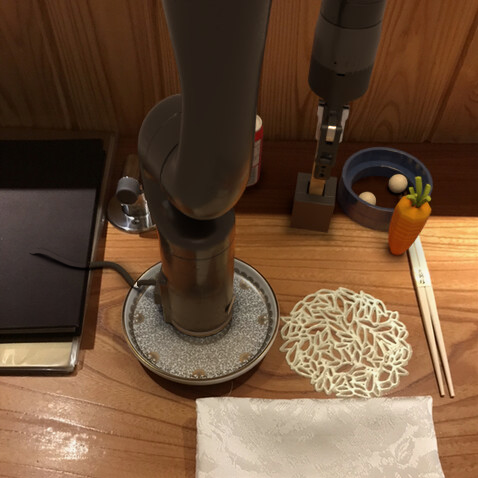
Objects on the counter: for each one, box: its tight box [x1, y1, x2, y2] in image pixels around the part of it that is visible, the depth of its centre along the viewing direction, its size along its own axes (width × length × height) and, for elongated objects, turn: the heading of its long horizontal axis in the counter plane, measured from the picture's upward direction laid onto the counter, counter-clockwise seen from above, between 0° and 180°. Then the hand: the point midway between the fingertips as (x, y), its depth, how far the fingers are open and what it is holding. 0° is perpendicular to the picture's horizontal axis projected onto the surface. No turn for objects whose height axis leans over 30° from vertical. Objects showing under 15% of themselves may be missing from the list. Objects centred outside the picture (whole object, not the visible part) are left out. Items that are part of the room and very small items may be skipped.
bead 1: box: [358, 191, 377, 206], centre depth 90 cm, size 3×3×3 cm
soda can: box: [246, 114, 264, 188], centre depth 90 cm, size 6×6×12 cm
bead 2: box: [388, 174, 407, 194], centre depth 92 cm, size 3×3×3 cm
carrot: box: [387, 177, 432, 256], centre depth 81 cm, size 5×5×15 cm
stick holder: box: [289, 171, 338, 234], centre depth 88 cm, size 6×6×7 cm
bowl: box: [336, 146, 434, 233], centre depth 91 cm, size 14×14×6 cm
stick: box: [308, 142, 325, 196], centre depth 84 cm, size 2×2×14 cm
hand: (323, 156), depth 80 cm, fingers open, 8 cm apart
